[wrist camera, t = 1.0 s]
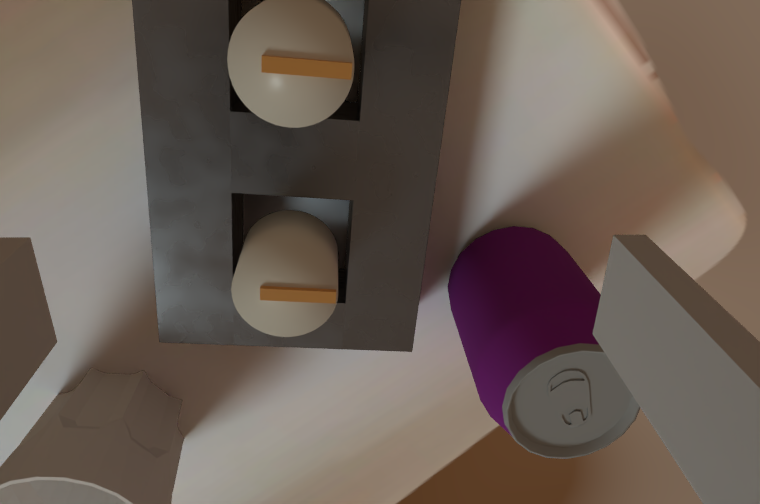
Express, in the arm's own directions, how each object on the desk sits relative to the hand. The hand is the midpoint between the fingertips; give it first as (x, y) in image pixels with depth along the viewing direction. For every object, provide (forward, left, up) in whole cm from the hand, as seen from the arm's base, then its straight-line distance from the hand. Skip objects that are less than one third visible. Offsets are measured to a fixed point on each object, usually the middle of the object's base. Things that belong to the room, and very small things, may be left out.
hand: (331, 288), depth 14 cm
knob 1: (-2, +3, -16) cm, 16 cm away
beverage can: (+11, -10, -20) cm, 25 cm away
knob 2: (-2, -7, -16) cm, 18 cm away
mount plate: (-2, -2, -20) cm, 20 cm away
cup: (-13, -22, -20) cm, 33 cm away
